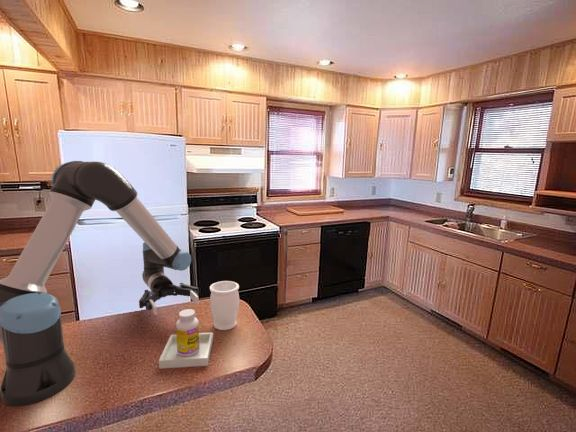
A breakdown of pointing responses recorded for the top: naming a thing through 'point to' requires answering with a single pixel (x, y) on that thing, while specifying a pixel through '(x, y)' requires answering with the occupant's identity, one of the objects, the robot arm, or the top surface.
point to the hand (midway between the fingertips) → (177, 305)
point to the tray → (201, 358)
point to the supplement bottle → (187, 333)
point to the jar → (224, 304)
